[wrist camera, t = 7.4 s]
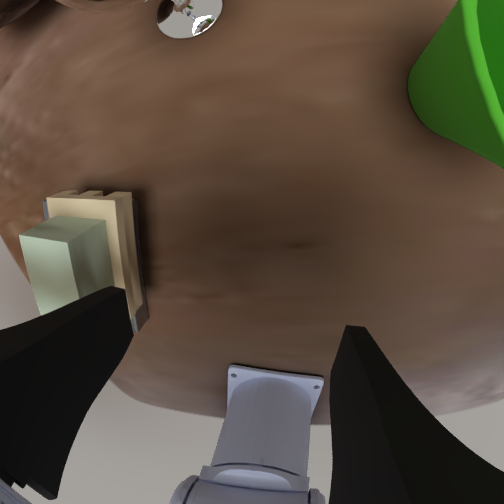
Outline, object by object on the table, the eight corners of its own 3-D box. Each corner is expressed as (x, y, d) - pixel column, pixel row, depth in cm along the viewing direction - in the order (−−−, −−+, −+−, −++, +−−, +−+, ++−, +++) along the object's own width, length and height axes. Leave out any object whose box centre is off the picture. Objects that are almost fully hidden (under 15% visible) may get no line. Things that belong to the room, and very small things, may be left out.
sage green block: (144, 303, 20) (104, 351, 15) (81, 288, 21) (39, 326, 16) (132, 192, 17) (74, 220, 12) (65, 190, 18) (8, 214, 13)
